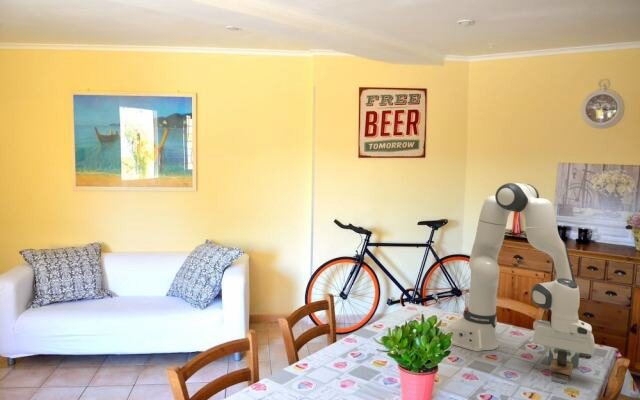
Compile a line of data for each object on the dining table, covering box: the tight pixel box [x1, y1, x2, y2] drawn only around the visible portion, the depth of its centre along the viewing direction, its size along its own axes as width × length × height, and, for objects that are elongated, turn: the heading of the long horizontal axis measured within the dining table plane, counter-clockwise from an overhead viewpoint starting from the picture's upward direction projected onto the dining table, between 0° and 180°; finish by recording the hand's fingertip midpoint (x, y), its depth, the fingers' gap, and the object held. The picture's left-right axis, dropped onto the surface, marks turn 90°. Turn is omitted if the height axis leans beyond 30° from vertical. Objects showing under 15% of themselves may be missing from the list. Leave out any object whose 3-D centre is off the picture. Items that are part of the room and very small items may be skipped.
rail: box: [551, 372, 569, 386], centre depth 178 cm, size 5×15×2 cm, turn 149°
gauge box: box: [548, 347, 580, 370], centre depth 188 cm, size 10×7×6 cm
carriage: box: [549, 350, 574, 380], centre depth 178 cm, size 7×6×8 cm
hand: (562, 360), depth 177 cm, fingers open, 3 cm apart
